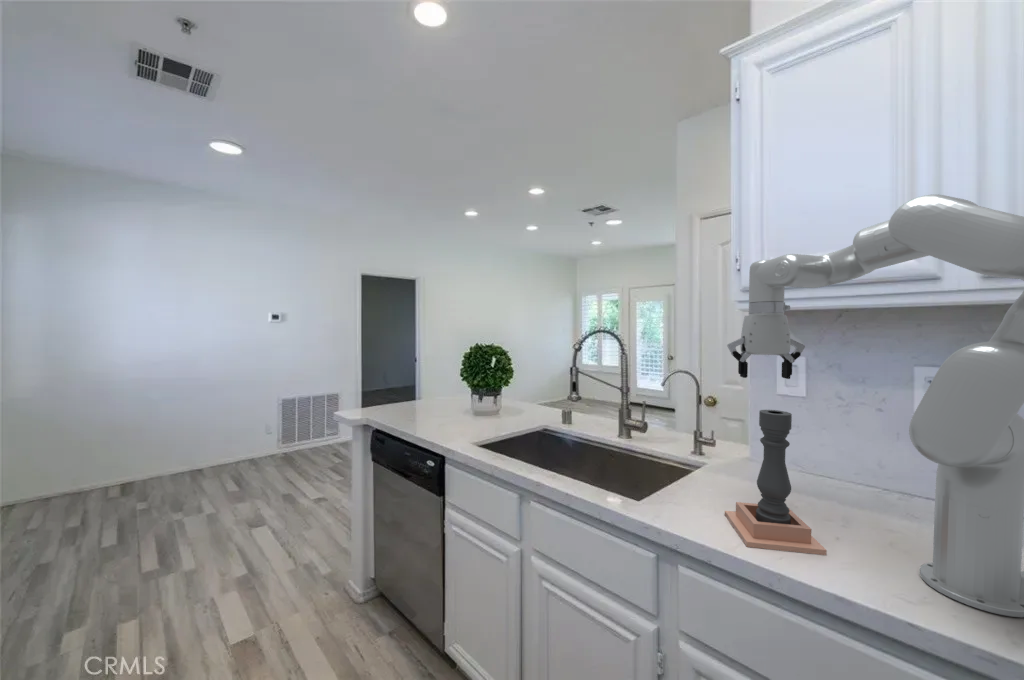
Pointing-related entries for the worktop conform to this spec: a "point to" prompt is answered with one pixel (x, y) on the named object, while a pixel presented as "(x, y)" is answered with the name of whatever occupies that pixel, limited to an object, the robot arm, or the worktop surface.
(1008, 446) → the robot arm
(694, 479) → the worktop surface
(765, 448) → the candle holder
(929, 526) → the worktop surface
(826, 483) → the worktop surface
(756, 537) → the square tray
